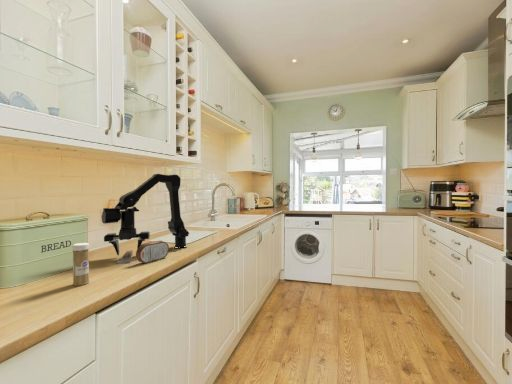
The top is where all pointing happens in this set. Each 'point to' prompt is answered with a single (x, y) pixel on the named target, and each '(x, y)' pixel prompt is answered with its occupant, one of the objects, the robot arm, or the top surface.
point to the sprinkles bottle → (80, 264)
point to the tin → (152, 251)
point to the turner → (126, 257)
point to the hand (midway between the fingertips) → (128, 254)
